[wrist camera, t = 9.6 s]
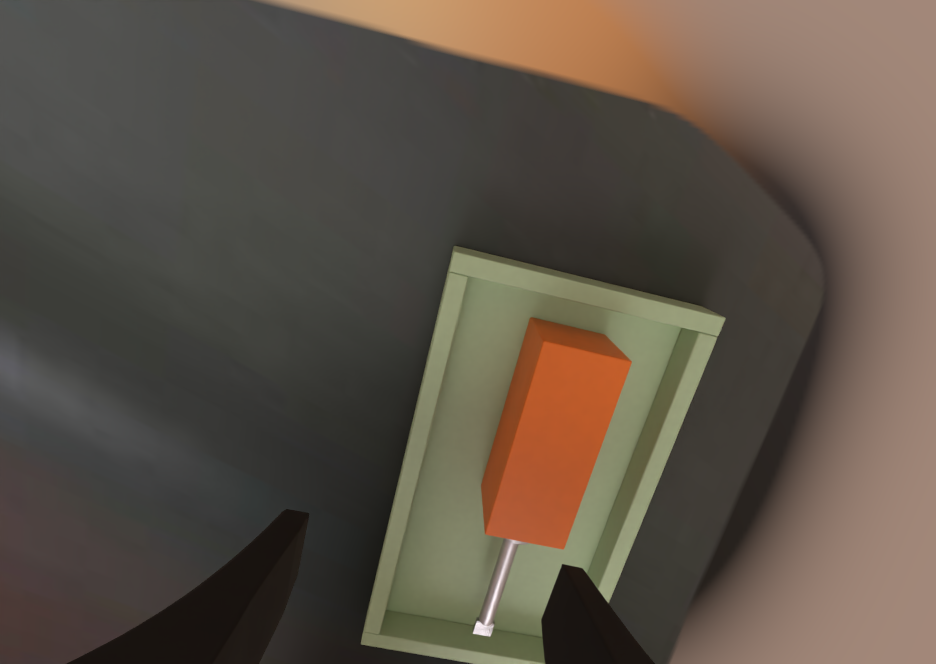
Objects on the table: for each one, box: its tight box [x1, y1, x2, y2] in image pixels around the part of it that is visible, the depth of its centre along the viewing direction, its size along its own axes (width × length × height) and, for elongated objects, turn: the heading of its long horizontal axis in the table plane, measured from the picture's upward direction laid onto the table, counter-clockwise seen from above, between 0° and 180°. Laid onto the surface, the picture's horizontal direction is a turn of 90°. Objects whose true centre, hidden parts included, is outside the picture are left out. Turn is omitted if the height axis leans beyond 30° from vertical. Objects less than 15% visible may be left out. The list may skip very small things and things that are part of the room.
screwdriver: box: [472, 317, 632, 637], centre depth 21 cm, size 15×3×3 cm, turn 166°
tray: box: [361, 246, 725, 664], centre depth 22 cm, size 20×11×2 cm, turn 166°
